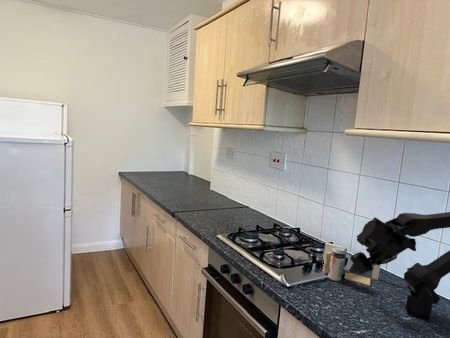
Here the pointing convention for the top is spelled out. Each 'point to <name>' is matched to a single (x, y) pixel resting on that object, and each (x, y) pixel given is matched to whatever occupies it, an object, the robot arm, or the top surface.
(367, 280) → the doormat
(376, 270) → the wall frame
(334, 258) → the beer can
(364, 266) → the robot arm
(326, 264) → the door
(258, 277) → the top surface
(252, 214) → the top surface
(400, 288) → the top surface
